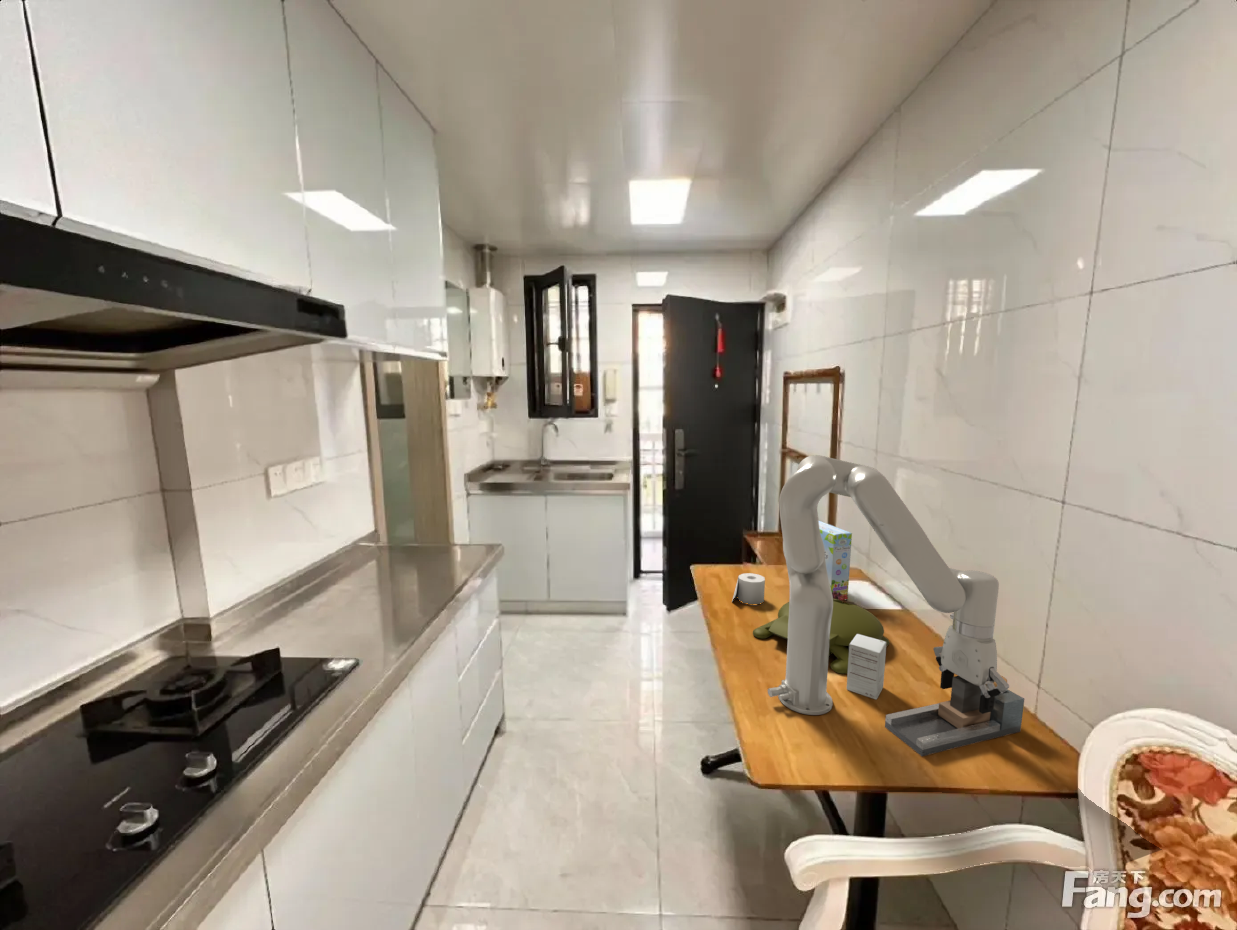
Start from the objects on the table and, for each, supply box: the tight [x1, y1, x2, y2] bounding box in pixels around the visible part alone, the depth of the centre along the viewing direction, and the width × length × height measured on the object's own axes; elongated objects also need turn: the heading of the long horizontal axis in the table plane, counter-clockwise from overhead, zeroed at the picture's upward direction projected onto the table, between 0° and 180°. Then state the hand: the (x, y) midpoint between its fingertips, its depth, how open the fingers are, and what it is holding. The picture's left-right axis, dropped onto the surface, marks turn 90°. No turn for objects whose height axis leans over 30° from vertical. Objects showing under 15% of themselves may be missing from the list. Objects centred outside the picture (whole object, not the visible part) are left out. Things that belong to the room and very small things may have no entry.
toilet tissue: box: [731, 572, 766, 604], centre depth 188 cm, size 9×13×9 cm
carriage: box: [938, 675, 991, 728], centre depth 117 cm, size 8×6×10 cm
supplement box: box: [846, 634, 887, 700], centre depth 132 cm, size 7×7×13 cm
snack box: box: [819, 520, 853, 601], centre depth 197 cm, size 22×9×26 cm, turn 17°
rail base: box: [884, 688, 1025, 757], centre depth 117 cm, size 28×10×8 cm, turn 107°
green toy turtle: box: [752, 599, 890, 675], centre depth 161 cm, size 35×31×10 cm
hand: (965, 699), depth 117 cm, fingers open, 9 cm apart
